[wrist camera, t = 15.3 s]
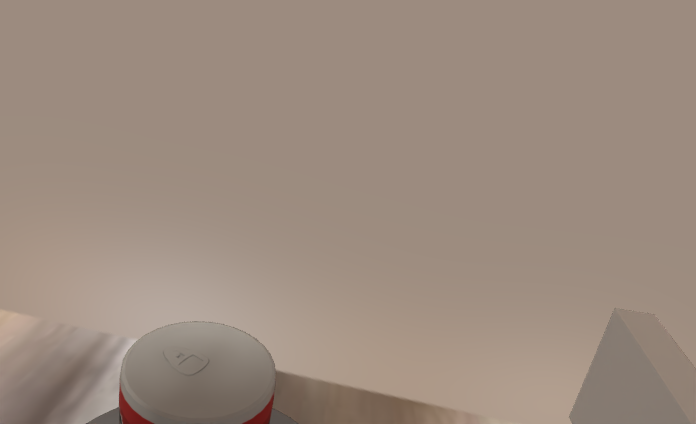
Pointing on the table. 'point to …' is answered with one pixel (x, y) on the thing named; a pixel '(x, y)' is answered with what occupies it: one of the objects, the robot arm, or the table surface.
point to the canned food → (197, 377)
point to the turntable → (110, 420)
